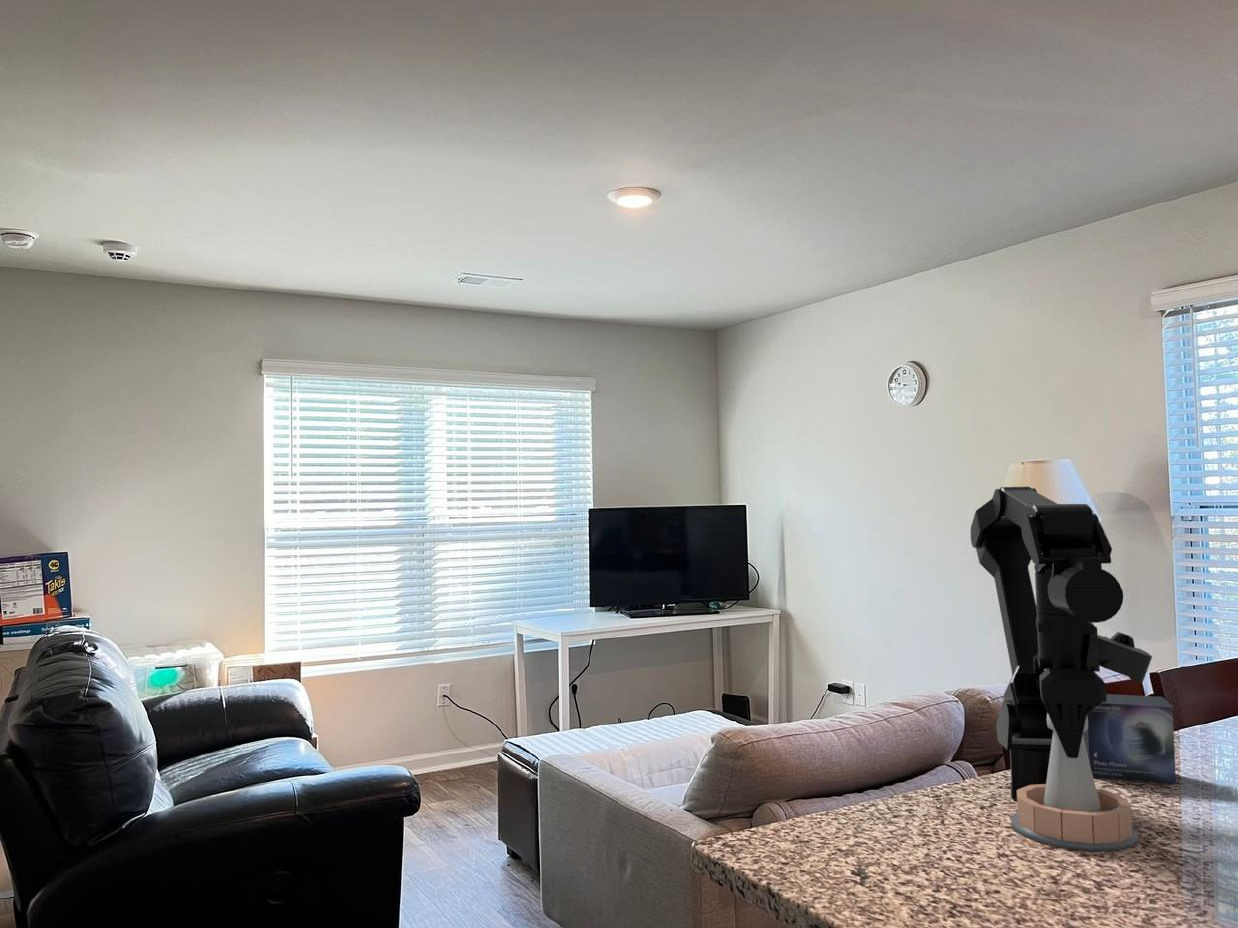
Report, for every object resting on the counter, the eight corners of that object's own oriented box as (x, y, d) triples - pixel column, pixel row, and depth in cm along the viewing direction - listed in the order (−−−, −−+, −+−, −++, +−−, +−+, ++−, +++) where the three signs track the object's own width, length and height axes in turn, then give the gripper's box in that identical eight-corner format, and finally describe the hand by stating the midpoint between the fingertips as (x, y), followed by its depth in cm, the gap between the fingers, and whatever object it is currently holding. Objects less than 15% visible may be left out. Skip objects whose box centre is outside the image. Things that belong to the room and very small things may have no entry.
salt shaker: (1037, 816, 107) (1030, 704, 108) (1087, 816, 107) (1080, 703, 108) (1058, 833, 101) (1051, 714, 102) (1111, 833, 101) (1104, 713, 102)
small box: (1089, 778, 125) (1085, 700, 125) (1082, 766, 131) (1079, 691, 131) (1178, 785, 121) (1174, 704, 122) (1167, 772, 127) (1163, 695, 128)
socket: (1013, 842, 101) (1011, 809, 101) (1010, 807, 113) (1008, 777, 113) (1148, 857, 96) (1146, 822, 96) (1129, 818, 108) (1128, 787, 108)
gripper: (1157, 623, 94) (1165, 778, 93) (1130, 606, 111) (1137, 736, 110) (1038, 621, 98) (1045, 769, 97) (1030, 604, 115) (1035, 730, 115)
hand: (1069, 750), depth 105 cm, fingers open, 6 cm apart
